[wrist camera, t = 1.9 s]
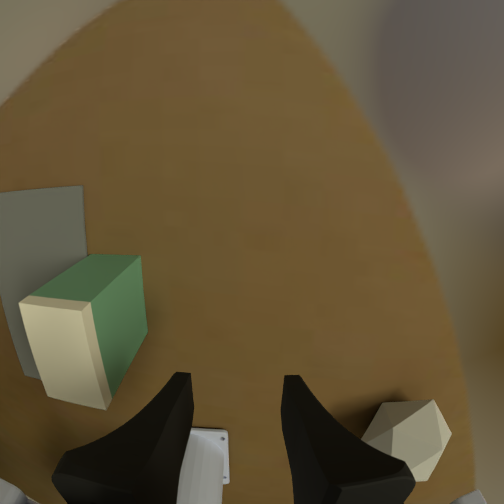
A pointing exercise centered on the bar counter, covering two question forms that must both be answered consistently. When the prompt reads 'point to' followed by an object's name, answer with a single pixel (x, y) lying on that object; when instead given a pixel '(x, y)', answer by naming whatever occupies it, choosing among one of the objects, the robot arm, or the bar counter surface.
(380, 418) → the die
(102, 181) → the bar counter surface
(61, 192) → the mat
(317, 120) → the bar counter surface
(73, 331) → the block
